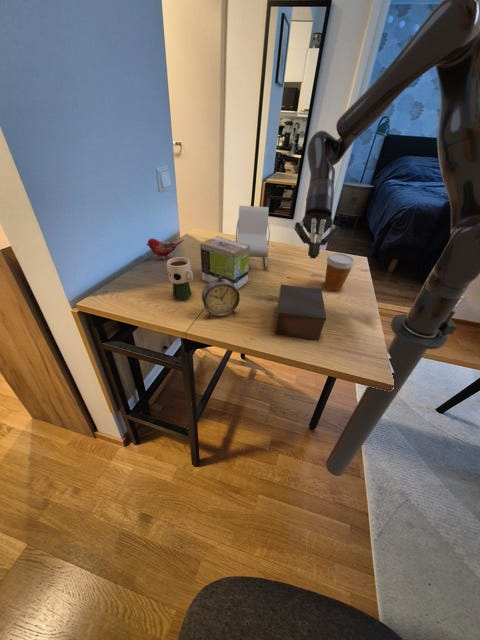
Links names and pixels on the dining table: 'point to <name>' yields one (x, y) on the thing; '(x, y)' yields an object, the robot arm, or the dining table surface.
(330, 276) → the disposable coffee cup
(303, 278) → the dining table surface
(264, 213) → the chair
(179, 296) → the character mug
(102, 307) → the dining table surface
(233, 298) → the alarm clock
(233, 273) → the tea box
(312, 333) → the dark brown box
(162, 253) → the decorative bird figurine
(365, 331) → the dining table surface
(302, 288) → the lid
